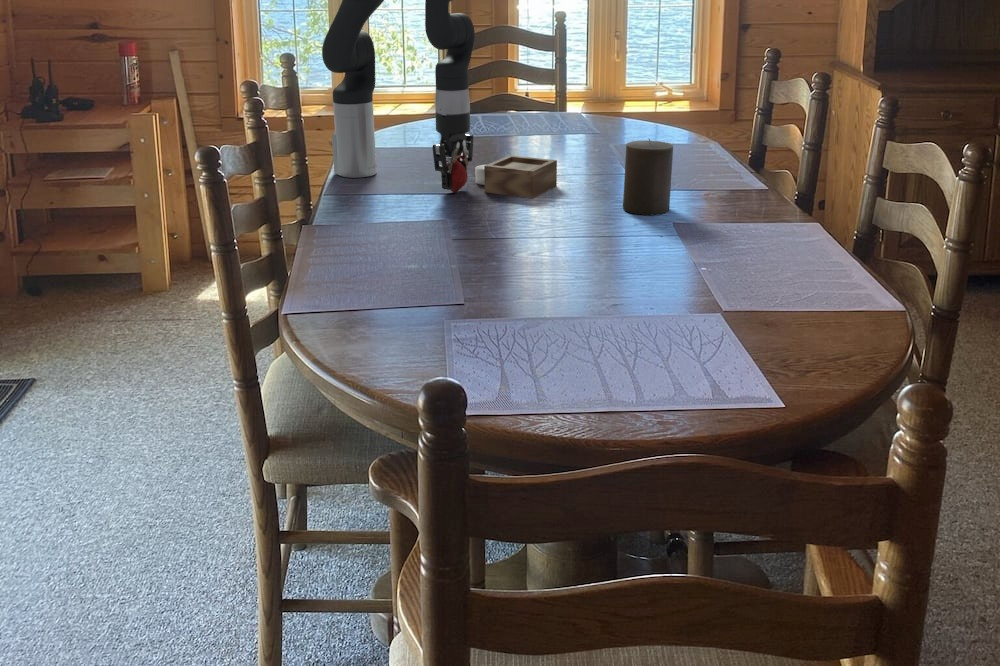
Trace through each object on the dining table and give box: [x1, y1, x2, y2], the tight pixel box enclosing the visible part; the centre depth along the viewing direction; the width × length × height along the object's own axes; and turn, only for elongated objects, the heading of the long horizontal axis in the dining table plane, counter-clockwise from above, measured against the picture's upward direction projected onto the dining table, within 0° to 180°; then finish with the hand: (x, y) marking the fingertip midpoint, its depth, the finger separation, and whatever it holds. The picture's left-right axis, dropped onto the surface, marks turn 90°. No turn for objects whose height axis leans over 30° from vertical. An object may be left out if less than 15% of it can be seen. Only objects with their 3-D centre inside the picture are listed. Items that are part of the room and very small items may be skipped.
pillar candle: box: [622, 138, 674, 216], centre depth 219 cm, size 10×10×15 cm
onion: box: [440, 158, 469, 193], centre depth 235 cm, size 6×6×8 cm
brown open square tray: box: [484, 154, 558, 199], centre depth 237 cm, size 12×12×6 cm
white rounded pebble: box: [474, 164, 486, 186], centre depth 245 cm, size 6×6×4 cm
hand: (454, 185), depth 236 cm, fingers closed on onion, 6 cm apart
